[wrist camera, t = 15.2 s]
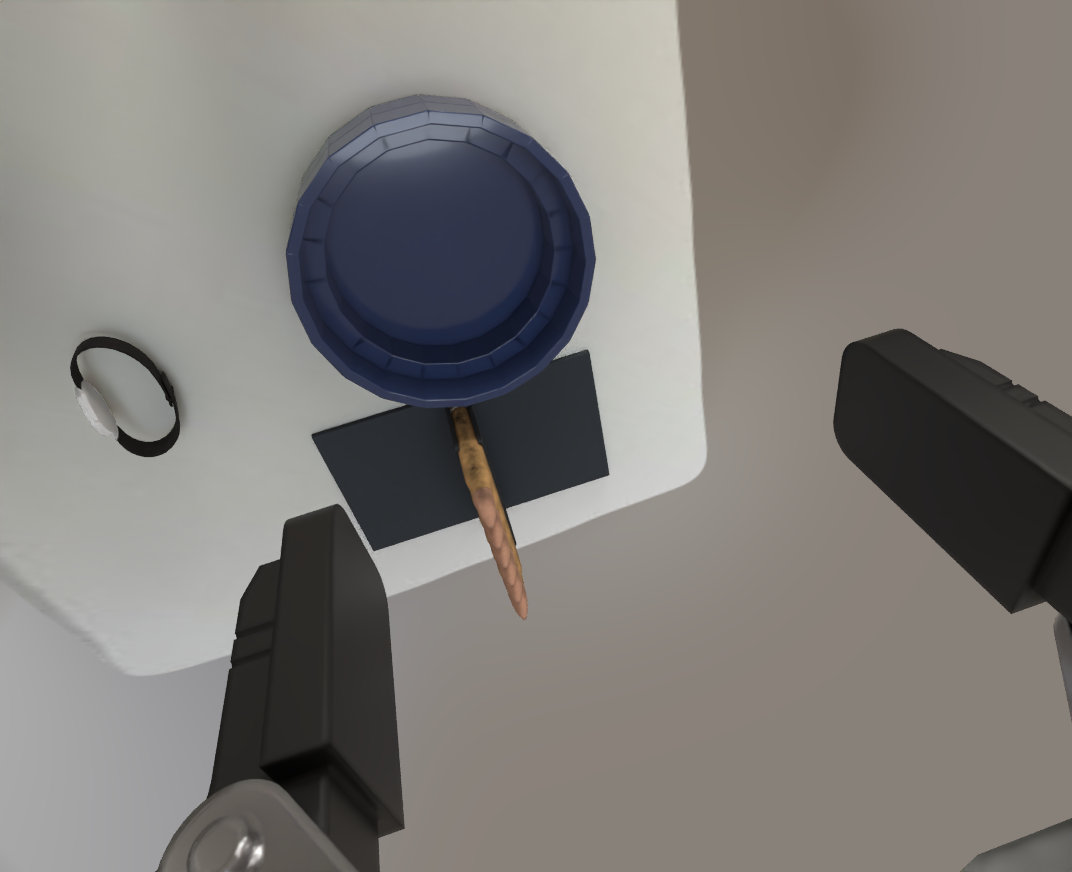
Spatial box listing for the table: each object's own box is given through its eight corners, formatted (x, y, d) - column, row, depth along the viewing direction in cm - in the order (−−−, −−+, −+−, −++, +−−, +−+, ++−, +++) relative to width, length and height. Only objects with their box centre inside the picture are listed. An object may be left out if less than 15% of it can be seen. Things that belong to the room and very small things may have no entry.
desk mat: (373, 547, 50) (373, 551, 50) (311, 434, 43) (311, 437, 42) (607, 472, 52) (609, 475, 51) (587, 349, 44) (589, 352, 44)
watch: (54, 341, 35) (29, 373, 32) (139, 319, 36) (121, 349, 33) (130, 445, 40) (114, 480, 37) (205, 424, 40) (194, 458, 38)
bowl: (356, 395, 42) (358, 440, 38) (239, 140, 32) (224, 165, 28) (585, 325, 43) (610, 362, 39) (541, 59, 33) (569, 71, 29)
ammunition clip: (503, 502, 50) (541, 623, 41) (481, 509, 50) (514, 632, 41) (468, 396, 44) (503, 511, 34) (443, 404, 43) (471, 522, 34)
